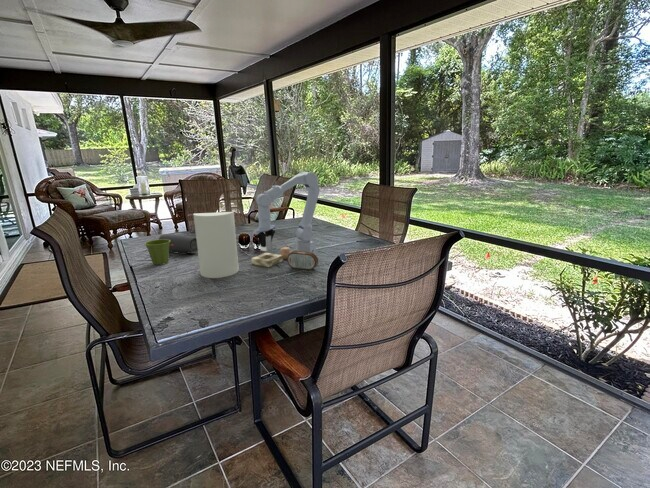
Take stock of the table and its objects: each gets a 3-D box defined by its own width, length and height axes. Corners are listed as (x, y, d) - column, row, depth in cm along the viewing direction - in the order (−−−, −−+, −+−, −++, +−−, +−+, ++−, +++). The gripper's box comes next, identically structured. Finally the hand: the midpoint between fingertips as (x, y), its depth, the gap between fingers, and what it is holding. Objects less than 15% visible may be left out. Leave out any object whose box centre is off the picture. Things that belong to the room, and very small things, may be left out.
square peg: (271, 249, 168) (271, 235, 166) (266, 251, 165) (265, 237, 163) (265, 248, 170) (265, 234, 168) (260, 250, 167) (259, 236, 165)
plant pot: (178, 261, 174) (175, 240, 171) (159, 268, 164) (155, 245, 161) (162, 258, 179) (159, 238, 176) (142, 265, 169) (138, 243, 166)
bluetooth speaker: (158, 252, 189) (155, 235, 187) (171, 248, 198) (168, 232, 195) (189, 256, 181) (187, 238, 178) (201, 252, 189) (199, 235, 187)
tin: (318, 269, 158) (318, 252, 156) (316, 271, 156) (315, 254, 153) (289, 266, 163) (288, 249, 161) (286, 268, 160) (285, 251, 158)
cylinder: (237, 276, 151) (231, 215, 143) (197, 279, 148) (189, 216, 141) (240, 264, 167) (235, 208, 160) (204, 266, 164) (197, 210, 157)
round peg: (292, 257, 178) (291, 248, 176) (286, 259, 173) (285, 250, 172) (284, 255, 180) (284, 246, 179) (278, 258, 176) (278, 249, 175)
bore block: (282, 261, 171) (282, 255, 170) (268, 267, 162) (268, 261, 161) (266, 257, 176) (266, 252, 176) (251, 263, 167) (251, 258, 167)
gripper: (268, 215, 171) (269, 241, 175) (248, 220, 159) (250, 248, 163) (278, 216, 168) (280, 243, 171) (259, 222, 156) (261, 250, 159)
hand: (266, 245), depth 167 cm, fingers closed on square peg, 4 cm apart
